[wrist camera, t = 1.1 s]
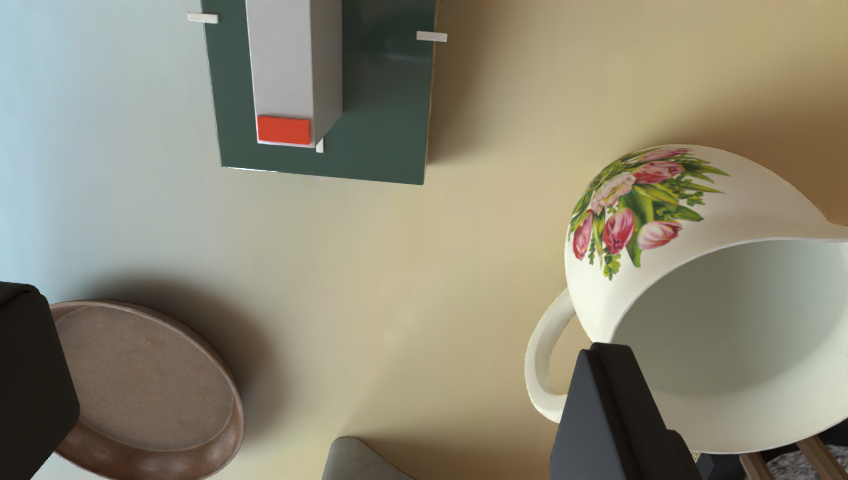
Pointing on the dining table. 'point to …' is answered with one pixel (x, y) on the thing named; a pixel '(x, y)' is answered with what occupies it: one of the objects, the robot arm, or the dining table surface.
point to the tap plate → (361, 93)
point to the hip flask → (358, 463)
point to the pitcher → (708, 297)
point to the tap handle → (295, 69)
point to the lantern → (785, 460)
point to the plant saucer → (146, 394)
